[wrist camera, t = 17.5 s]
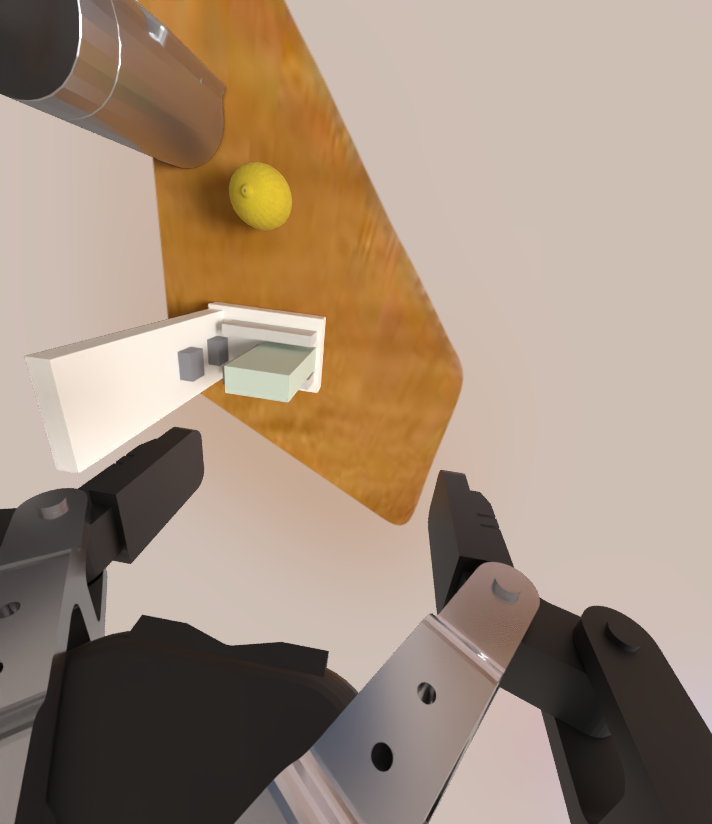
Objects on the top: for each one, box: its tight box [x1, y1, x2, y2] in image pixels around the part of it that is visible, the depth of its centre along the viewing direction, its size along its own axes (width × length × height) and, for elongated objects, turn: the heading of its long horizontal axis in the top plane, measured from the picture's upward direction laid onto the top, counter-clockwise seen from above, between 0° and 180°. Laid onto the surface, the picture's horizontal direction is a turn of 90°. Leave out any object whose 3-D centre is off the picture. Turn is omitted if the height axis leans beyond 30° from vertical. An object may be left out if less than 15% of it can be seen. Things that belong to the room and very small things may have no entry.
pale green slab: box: [222, 341, 317, 402], centre depth 37 cm, size 7×3×11 cm, turn 83°
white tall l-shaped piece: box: [24, 302, 326, 473], centre depth 33 cm, size 14×9×24 cm, turn 83°
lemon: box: [229, 162, 292, 230], centre depth 34 cm, size 6×6×8 cm
